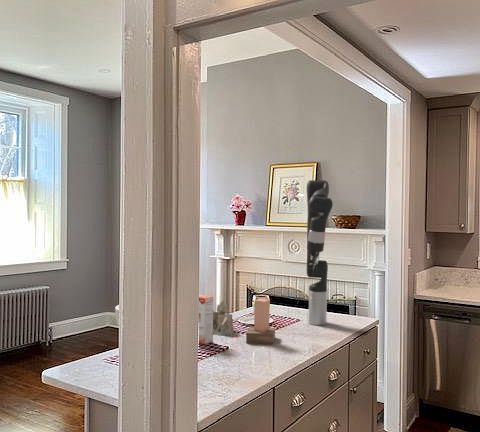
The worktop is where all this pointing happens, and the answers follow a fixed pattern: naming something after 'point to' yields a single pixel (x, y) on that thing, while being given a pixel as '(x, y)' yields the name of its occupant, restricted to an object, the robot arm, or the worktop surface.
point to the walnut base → (260, 336)
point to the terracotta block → (261, 315)
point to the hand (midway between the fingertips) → (312, 274)
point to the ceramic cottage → (222, 321)
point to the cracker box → (205, 319)
